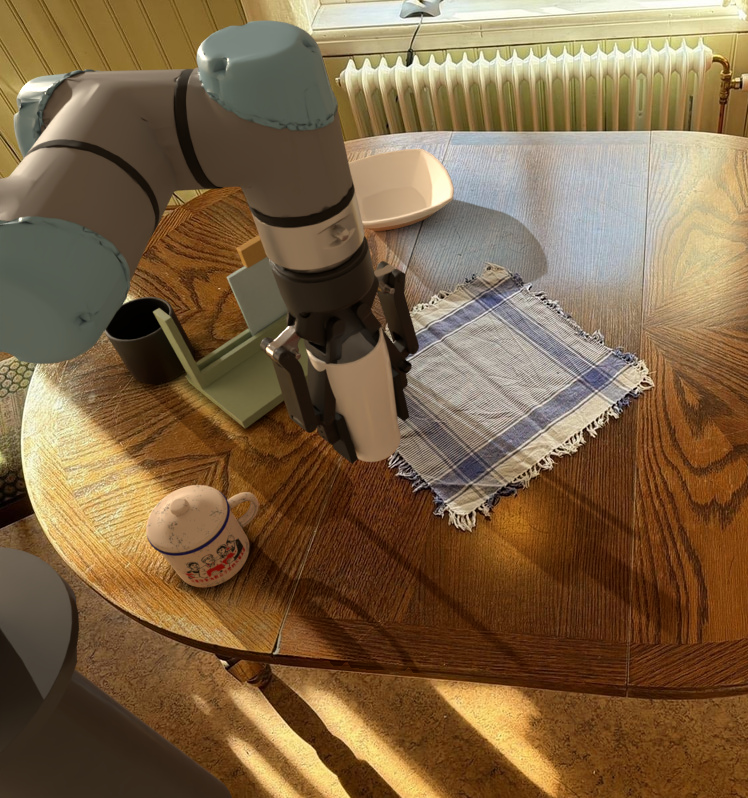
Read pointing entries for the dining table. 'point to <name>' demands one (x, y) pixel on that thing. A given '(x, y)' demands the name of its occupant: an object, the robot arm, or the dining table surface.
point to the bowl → (400, 188)
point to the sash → (256, 287)
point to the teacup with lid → (201, 533)
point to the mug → (146, 340)
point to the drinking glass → (365, 396)
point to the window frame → (235, 370)
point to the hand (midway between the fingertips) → (372, 432)
